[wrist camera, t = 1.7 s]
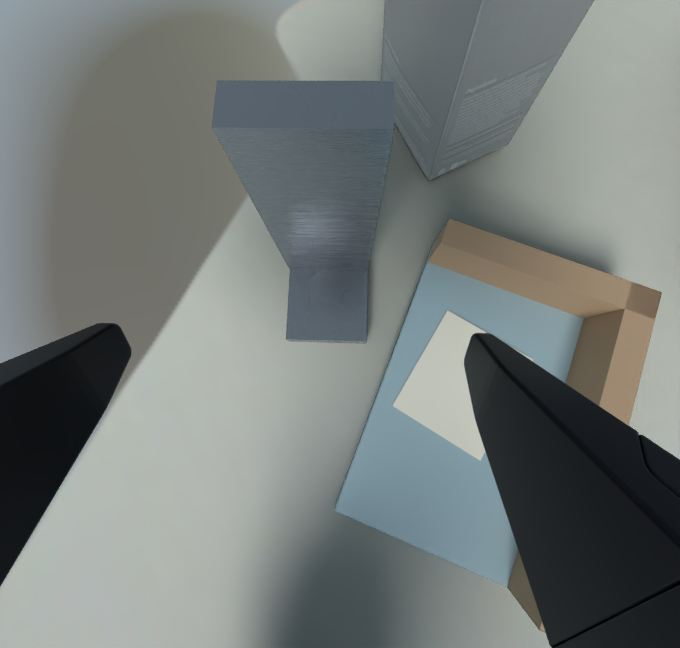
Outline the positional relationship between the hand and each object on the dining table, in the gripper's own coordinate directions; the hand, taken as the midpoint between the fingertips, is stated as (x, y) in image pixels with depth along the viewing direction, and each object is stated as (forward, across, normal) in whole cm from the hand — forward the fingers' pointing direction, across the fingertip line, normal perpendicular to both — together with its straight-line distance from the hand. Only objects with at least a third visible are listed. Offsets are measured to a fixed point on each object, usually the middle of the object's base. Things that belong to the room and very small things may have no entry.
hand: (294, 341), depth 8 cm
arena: (+7, -10, +10) cm, 16 cm away
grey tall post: (+12, 0, +6) cm, 13 cm away
